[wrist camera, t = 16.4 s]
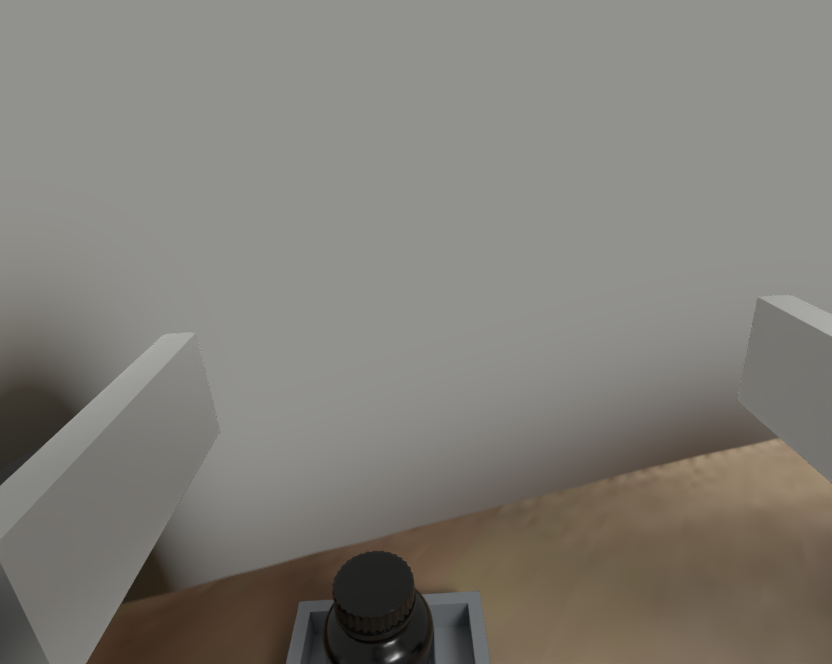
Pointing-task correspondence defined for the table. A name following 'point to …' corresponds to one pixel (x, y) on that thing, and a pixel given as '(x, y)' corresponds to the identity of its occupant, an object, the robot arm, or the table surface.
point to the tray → (452, 618)
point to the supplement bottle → (378, 614)
